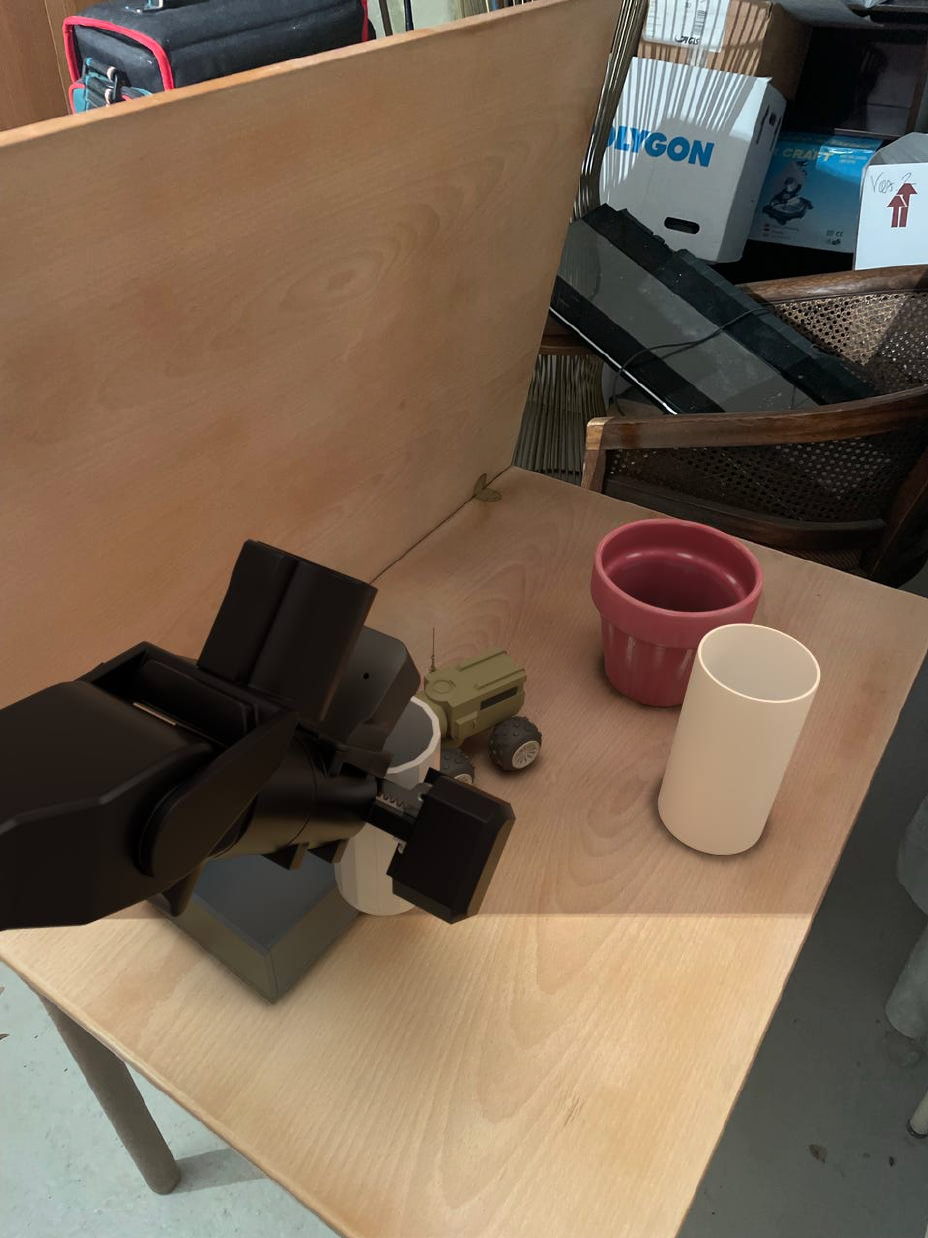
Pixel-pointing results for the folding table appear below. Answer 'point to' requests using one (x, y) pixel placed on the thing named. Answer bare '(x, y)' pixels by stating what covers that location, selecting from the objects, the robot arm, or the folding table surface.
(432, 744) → the tumbler
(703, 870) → the folding table surface
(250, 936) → the open box
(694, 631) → the flower pot
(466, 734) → the toy vehicle
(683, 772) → the cup
